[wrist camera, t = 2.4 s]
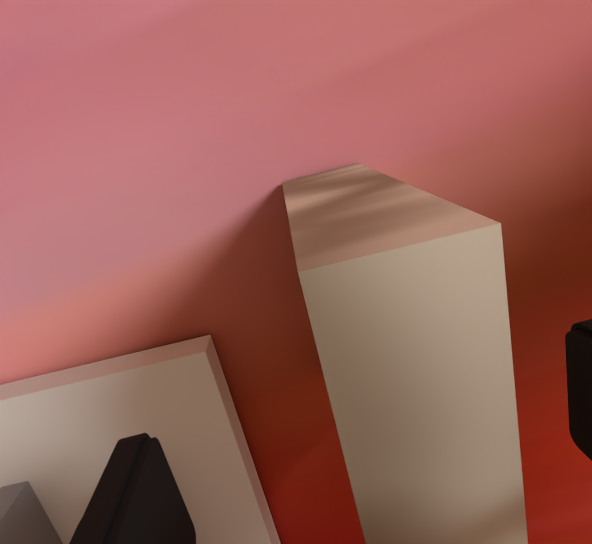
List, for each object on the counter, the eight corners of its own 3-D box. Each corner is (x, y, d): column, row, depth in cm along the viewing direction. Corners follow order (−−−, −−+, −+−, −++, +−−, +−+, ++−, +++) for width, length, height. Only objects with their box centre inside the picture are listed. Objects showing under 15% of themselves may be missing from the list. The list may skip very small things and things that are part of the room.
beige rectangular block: (357, 163, 17) (501, 223, 6) (395, 363, 20) (535, 633, 9) (281, 182, 17) (298, 272, 6) (329, 378, 20) (395, 663, 9)
